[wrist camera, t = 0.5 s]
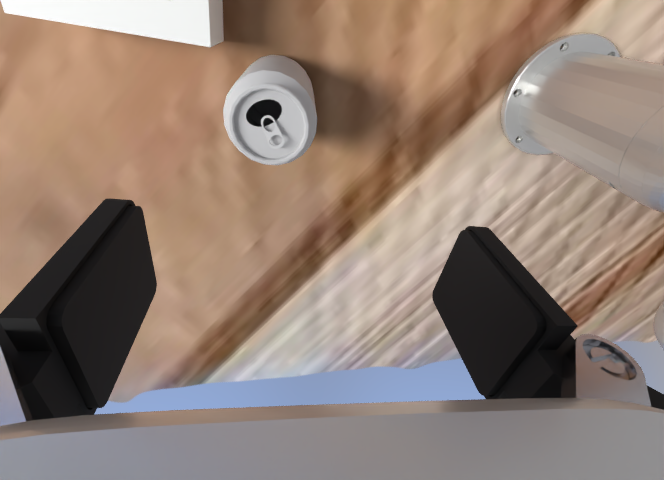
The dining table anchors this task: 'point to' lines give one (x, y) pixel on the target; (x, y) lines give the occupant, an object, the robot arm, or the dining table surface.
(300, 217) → the dining table surface
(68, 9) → the riser
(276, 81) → the can
